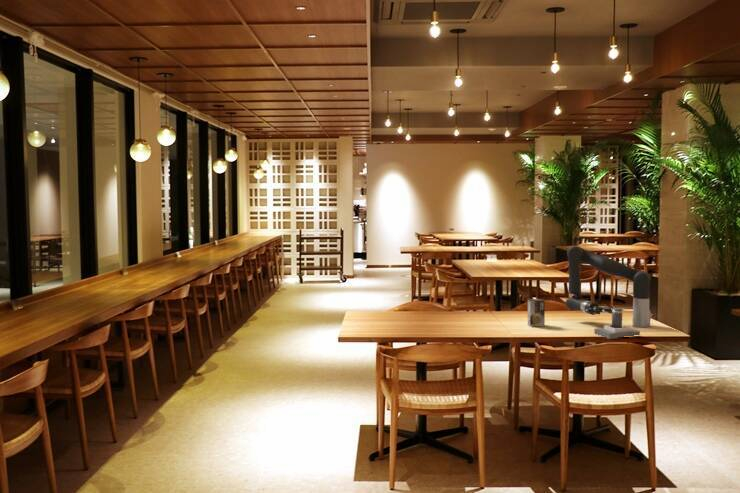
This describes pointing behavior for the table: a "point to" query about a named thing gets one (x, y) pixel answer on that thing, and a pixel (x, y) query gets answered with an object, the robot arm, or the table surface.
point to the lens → (616, 318)
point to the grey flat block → (615, 332)
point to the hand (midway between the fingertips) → (606, 312)
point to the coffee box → (536, 312)
